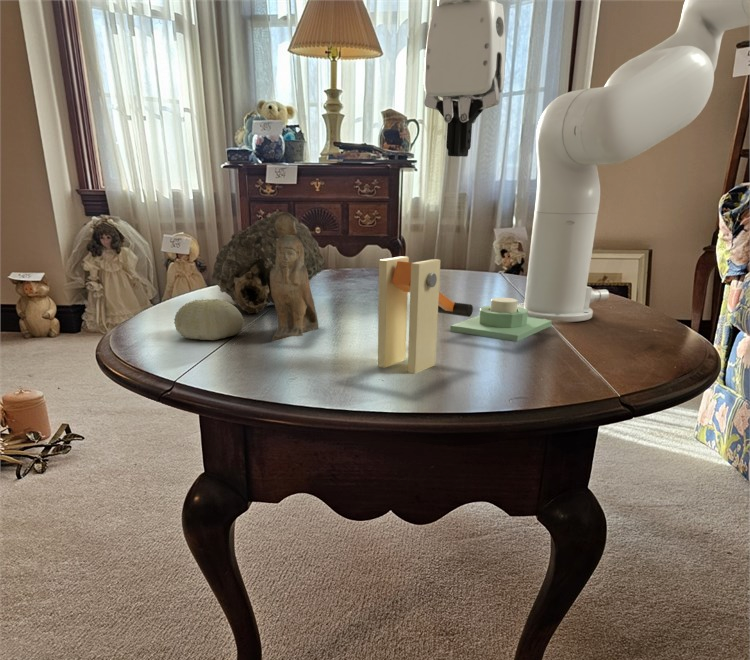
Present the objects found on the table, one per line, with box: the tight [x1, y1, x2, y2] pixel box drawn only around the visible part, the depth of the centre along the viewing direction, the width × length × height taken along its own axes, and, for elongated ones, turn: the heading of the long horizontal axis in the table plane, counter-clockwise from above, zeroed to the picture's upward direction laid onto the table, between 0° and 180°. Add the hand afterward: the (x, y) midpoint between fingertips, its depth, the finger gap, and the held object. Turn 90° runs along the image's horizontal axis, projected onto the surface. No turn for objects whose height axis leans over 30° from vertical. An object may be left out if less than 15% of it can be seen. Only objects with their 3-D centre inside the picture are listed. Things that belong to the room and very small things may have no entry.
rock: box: [211, 209, 326, 314], centre depth 109 cm, size 18×14×15 cm
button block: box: [449, 305, 553, 342], centre depth 92 cm, size 12×10×4 cm
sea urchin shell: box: [173, 298, 244, 342], centre depth 92 cm, size 9×8×8 cm
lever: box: [392, 261, 474, 318], centre depth 74 cm, size 13×5×2 cm, turn 145°
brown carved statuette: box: [270, 212, 319, 342], centre depth 88 cm, size 12×6×18 cm, turn 170°
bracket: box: [377, 255, 441, 374], centre depth 72 cm, size 12×9×13 cm
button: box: [490, 297, 519, 313], centre depth 91 cm, size 4×4×2 cm
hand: (457, 155), depth 91 cm, fingers closed
